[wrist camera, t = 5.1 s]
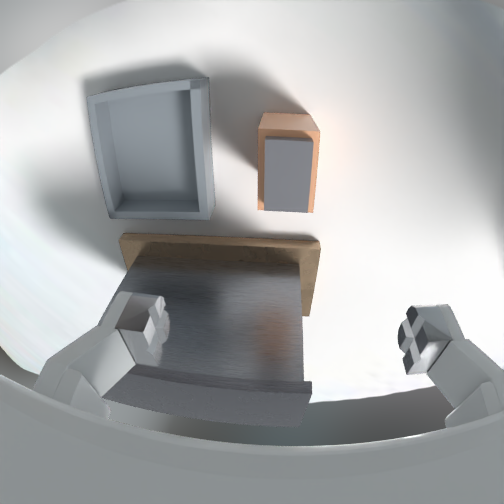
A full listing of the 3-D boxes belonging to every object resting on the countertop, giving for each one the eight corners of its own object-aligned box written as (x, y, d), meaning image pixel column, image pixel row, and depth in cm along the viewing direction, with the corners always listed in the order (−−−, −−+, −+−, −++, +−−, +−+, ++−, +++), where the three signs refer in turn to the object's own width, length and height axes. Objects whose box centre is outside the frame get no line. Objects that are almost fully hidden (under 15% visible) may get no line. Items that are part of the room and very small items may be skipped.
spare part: (310, 114, 23) (322, 135, 17) (306, 177, 27) (314, 219, 20) (263, 112, 24) (256, 131, 17) (263, 175, 27) (256, 216, 21)
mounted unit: (319, 241, 31) (338, 383, 17) (308, 307, 37) (313, 432, 23) (124, 233, 32) (50, 343, 19) (142, 295, 38) (96, 400, 25)
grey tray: (208, 77, 22) (199, 79, 19) (215, 205, 29) (209, 220, 27) (103, 92, 23) (86, 97, 20) (122, 204, 30) (109, 218, 28)
